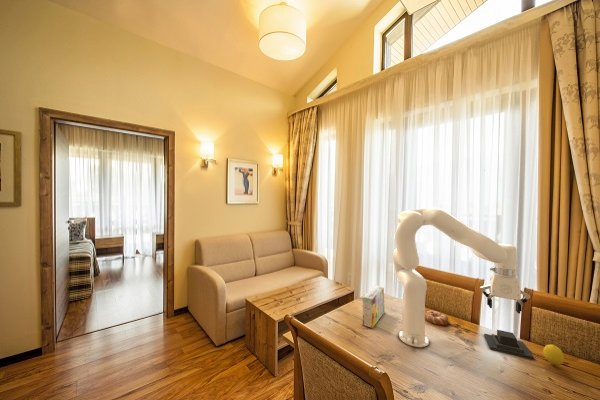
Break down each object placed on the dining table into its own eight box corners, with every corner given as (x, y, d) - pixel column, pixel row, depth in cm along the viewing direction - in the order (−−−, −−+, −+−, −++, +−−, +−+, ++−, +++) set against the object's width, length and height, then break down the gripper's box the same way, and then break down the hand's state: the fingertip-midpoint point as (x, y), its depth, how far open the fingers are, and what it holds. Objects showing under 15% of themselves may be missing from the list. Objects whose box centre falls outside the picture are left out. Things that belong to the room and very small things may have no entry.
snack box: (375, 310, 139) (375, 284, 139) (384, 312, 136) (384, 286, 136) (362, 325, 122) (362, 296, 122) (372, 328, 119) (372, 299, 119)
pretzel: (419, 317, 131) (419, 310, 131) (433, 314, 134) (433, 307, 134) (438, 328, 119) (438, 320, 119) (453, 324, 123) (453, 317, 123)
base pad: (533, 359, 96) (533, 354, 96) (490, 349, 102) (490, 344, 102) (522, 343, 106) (522, 339, 106) (484, 335, 113) (484, 330, 113)
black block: (517, 349, 101) (517, 339, 101) (500, 345, 103) (500, 335, 103) (512, 342, 106) (512, 332, 106) (496, 339, 108) (496, 329, 108)
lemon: (566, 371, 89) (566, 350, 89) (546, 366, 92) (546, 346, 92) (560, 363, 94) (560, 343, 94) (541, 358, 97) (541, 339, 97)
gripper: (482, 270, 106) (481, 308, 106) (533, 277, 98) (533, 318, 98) (479, 266, 113) (478, 302, 113) (527, 272, 105) (526, 311, 105)
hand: (503, 309), depth 105 cm, fingers open, 9 cm apart
